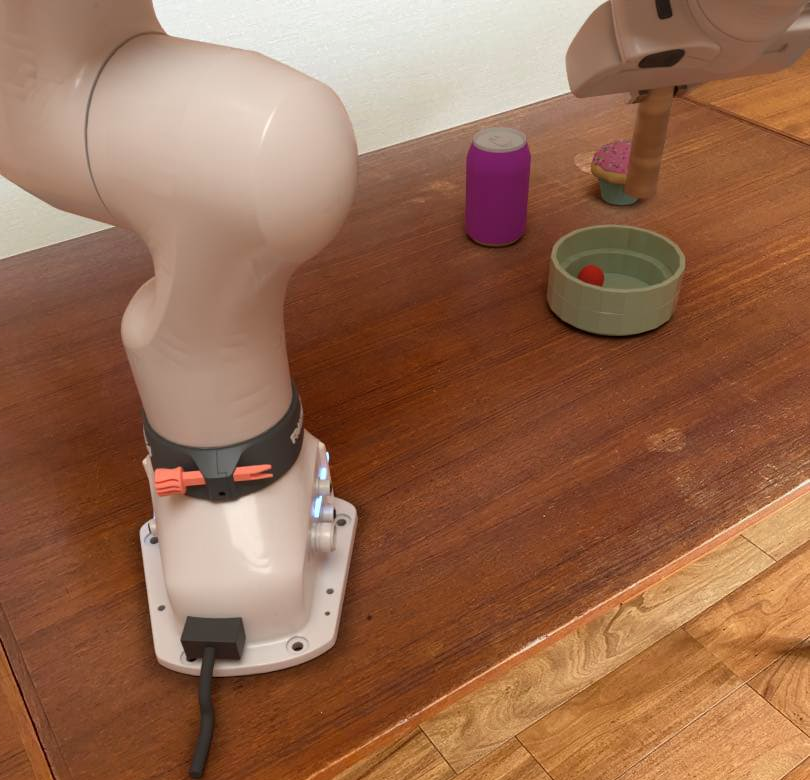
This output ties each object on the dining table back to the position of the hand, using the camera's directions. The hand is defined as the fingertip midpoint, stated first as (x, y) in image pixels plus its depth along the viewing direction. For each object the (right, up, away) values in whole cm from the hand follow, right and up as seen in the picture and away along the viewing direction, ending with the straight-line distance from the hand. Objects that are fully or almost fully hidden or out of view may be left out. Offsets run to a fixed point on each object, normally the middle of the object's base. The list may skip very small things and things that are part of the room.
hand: (652, 92), depth 79 cm
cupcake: (+6, +5, +37) cm, 37 cm away
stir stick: (+1, -7, +6) cm, 9 cm away
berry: (-2, -11, +19) cm, 22 cm away
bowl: (+1, -14, +19) cm, 24 cm away
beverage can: (-11, -2, +31) cm, 33 cm away
